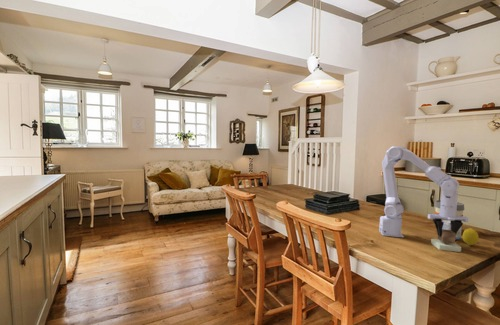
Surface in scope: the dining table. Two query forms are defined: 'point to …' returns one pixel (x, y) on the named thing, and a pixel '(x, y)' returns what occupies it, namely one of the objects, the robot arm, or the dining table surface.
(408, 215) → the dining table surface
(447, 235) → the walnut cube
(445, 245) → the base brick
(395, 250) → the dining table surface
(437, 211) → the reusable coffee cup
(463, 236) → the lemon
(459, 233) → the medicine box
